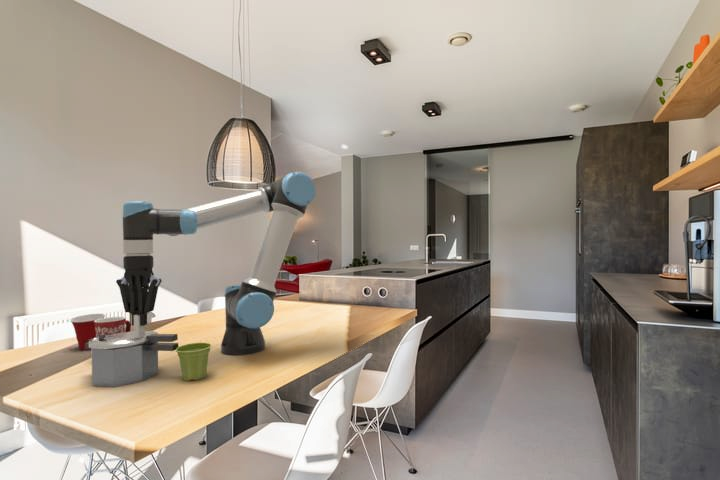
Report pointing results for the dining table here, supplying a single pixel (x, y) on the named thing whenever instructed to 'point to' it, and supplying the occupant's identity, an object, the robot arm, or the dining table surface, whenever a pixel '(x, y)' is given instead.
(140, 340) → the lid
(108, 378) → the cooker pot
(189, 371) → the plant pot
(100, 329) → the mug
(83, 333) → the plastic cup
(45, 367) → the dining table surface
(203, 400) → the dining table surface
